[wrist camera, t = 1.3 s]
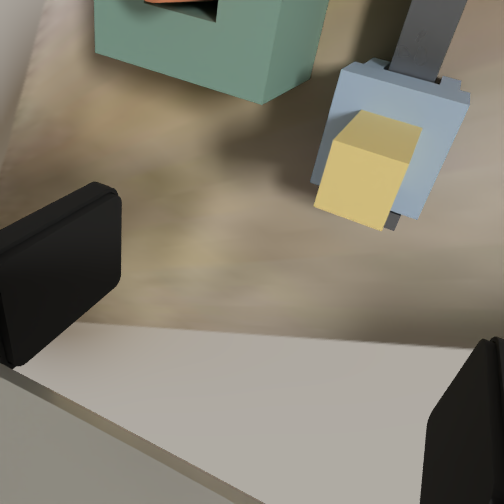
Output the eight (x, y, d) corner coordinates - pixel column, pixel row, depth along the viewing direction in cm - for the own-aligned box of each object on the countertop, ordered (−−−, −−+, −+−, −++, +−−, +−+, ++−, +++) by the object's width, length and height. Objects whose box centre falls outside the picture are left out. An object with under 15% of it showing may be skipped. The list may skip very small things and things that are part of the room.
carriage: (470, 83, 24) (468, 138, 15) (426, 181, 28) (403, 273, 19) (365, 55, 26) (306, 90, 17) (336, 151, 29) (274, 224, 20)
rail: (574, -202, 18) (602, -254, 14) (404, 198, 29) (394, 230, 25) (467, -214, 19) (465, -266, 15) (341, 176, 30) (321, 204, 26)
